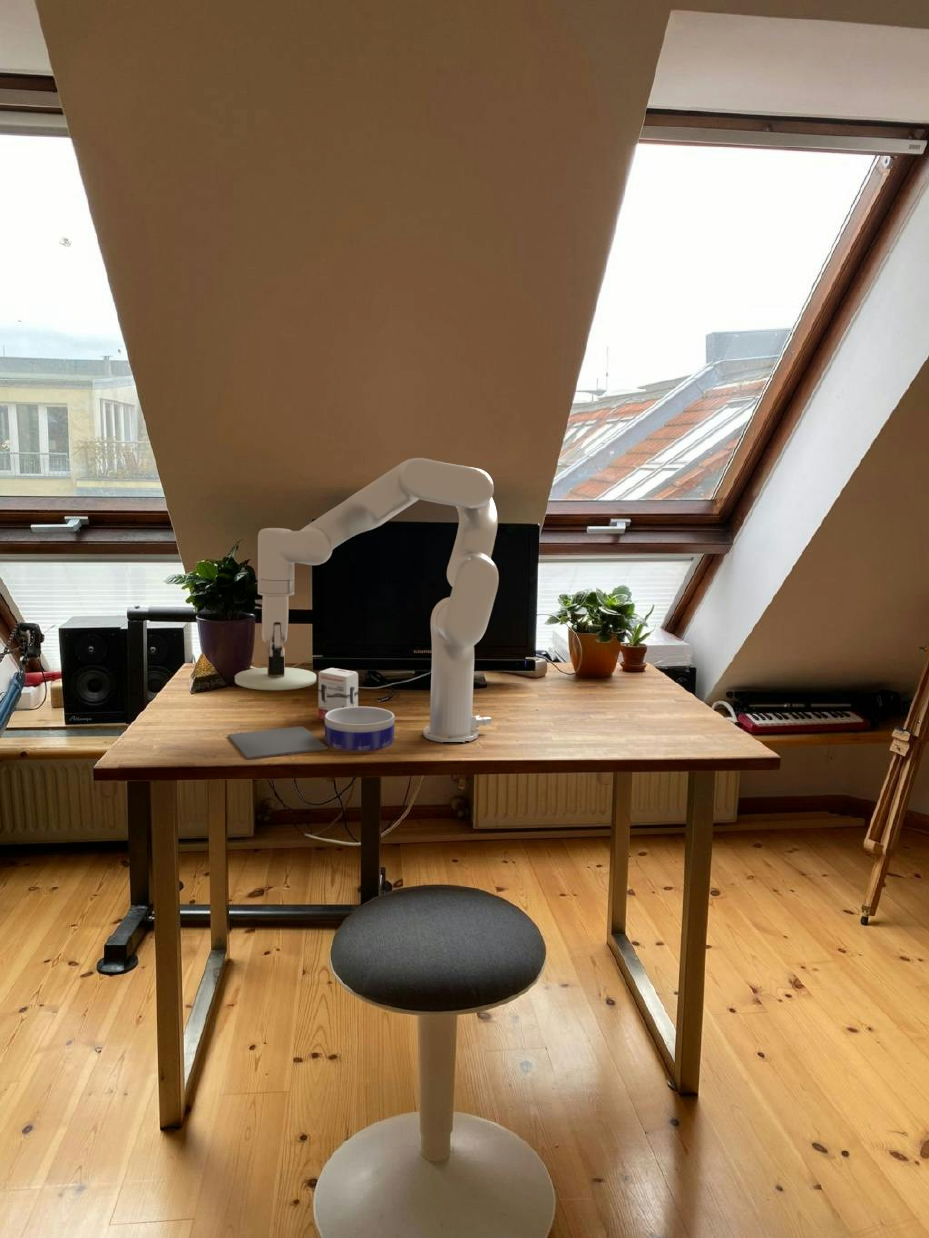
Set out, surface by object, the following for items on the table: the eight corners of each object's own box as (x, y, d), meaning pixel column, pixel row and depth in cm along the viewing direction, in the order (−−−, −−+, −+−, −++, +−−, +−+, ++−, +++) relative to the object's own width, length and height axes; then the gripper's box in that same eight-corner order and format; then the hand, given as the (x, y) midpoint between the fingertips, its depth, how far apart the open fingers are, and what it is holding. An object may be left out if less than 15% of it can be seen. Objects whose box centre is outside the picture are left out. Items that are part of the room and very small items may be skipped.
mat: (302, 728, 198) (302, 726, 198) (327, 749, 184) (327, 747, 184) (227, 736, 190) (227, 734, 190) (247, 759, 176) (247, 757, 176)
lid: (301, 669, 196) (301, 639, 195) (327, 686, 182) (328, 653, 181) (225, 674, 188) (225, 643, 187) (247, 693, 173) (247, 658, 172)
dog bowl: (321, 732, 196) (321, 706, 195) (388, 729, 200) (388, 704, 199) (327, 753, 182) (328, 725, 181) (399, 750, 186) (400, 723, 185)
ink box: (317, 718, 207) (317, 670, 205) (330, 714, 211) (330, 667, 209) (346, 724, 202) (346, 675, 201) (358, 720, 207) (359, 671, 205)
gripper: (256, 582, 188) (256, 664, 191) (259, 592, 173) (259, 682, 176) (291, 582, 190) (290, 663, 193) (297, 592, 175) (296, 681, 178)
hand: (275, 671), depth 184 cm, fingers closed on lid, 3 cm apart
